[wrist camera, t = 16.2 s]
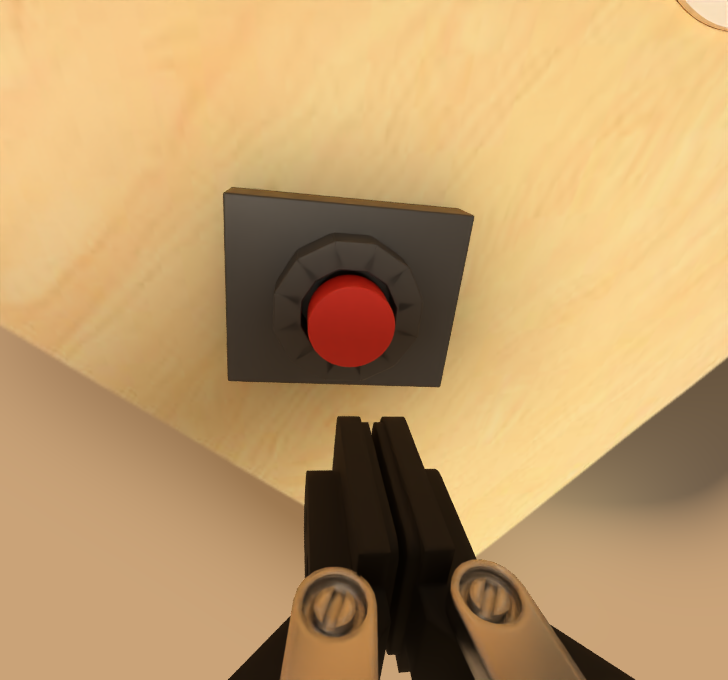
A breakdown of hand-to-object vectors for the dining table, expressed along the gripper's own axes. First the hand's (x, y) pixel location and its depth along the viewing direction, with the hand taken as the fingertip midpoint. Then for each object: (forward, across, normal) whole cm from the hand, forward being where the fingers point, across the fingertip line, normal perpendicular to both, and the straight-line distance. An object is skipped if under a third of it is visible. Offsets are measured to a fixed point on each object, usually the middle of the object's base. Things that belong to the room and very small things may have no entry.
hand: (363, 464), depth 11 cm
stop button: (+9, -1, 0) cm, 9 cm away
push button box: (+13, -1, 0) cm, 13 cm away
